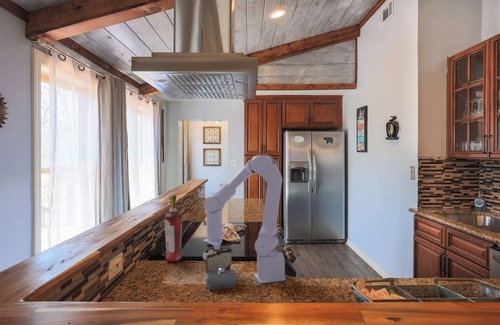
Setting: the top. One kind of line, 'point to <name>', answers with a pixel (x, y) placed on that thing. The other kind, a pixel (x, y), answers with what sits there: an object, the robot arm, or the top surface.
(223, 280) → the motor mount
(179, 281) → the top surface
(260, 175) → the robot arm
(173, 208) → the liquor
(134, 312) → the top surface
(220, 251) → the food container
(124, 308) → the top surface
